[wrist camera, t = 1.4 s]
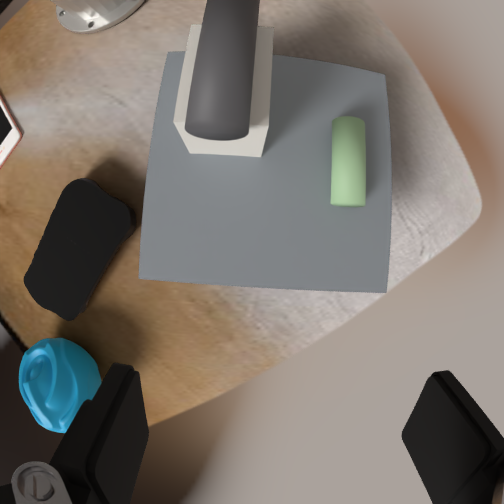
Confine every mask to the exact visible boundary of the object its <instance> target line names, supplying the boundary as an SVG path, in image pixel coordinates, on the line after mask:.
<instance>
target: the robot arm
mask: <svg viewBox="0 0 504 504" xmlns="http://www.w3.org/2000/svg"><path fill="white" fill-rule="evenodd" d="M50 1H52V2H53V3H55V4H56V14H57V18H58V20H59V22H60V24H61V25H62V26H64V27H65V28H66V29H68V30H70V31H71V32H75V33H79V34H89V33H95V32H99V31H102V30H105V29H107V28H110V27H112V26H114V25H116V24H118V23H119V22H121V21H123V20H124V19H126V18H127V17H128V16H129V15H131V14H132V13H133V12H134V11H135V10H136V9H137V8H138V7H140V6H141V4H142V3H143V2H144V1H145V0H50ZM148 436H149V430H148V424H147V419H146V413H145V407H144V401H143V395H142V388H141V381H140V375H139V372H138V371H134V368H133V366H131V365H125V364H119V363H113V364H112V366H111V367H110V369H109V371H108V373H107V374H106V376H105V378H104V380H103V381H102V383H101V385H100V387H99V388H98V390H97V392H96V394H95V395H94V397H93V399H92V400H90V399H86V400H85V401H84V402H83V403H82V405H81V406H80V408H79V410H78V412H77V413H76V415H75V417H74V419H73V420H72V422H71V424H70V426H69V428H68V429H67V431H66V433H65V435H64V437H63V439H62V440H61V442H60V444H59V446H58V448H57V450H56V452H55V453H54V456H53V457H52V459H51V461H50V463H49V465H48V464H46V463H42V462H29V463H26V464H23V465H22V466H20V467H19V468H17V470H16V471H15V473H14V474H13V478H12V483H11V484H7V485H3V486H0V504H130V501H131V497H132V493H133V490H134V486H135V483H136V479H137V476H138V472H139V469H140V465H141V462H142V458H143V455H144V451H145V448H146V445H147V441H148ZM402 440H403V442H404V444H405V446H406V448H407V450H408V452H409V454H410V456H411V458H412V460H413V463H414V465H415V466H416V469H417V471H418V473H419V475H420V477H421V479H422V481H423V484H424V486H425V488H426V490H427V492H428V494H429V496H430V499H431V501H432V503H433V504H504V438H503V437H502V435H501V434H500V432H499V431H498V430H497V429H496V427H495V426H494V425H493V423H492V422H491V421H490V420H489V418H488V417H487V416H486V414H485V413H484V412H483V411H482V409H481V408H480V407H479V406H478V404H477V403H476V402H475V401H474V399H473V398H472V397H471V396H470V394H469V393H468V392H467V391H466V389H465V388H464V387H463V386H462V385H461V383H460V382H459V381H458V380H457V379H456V377H455V376H454V375H453V374H452V373H451V372H450V371H448V370H446V371H439V372H434V373H433V374H432V375H431V376H430V377H429V378H428V379H427V381H426V383H425V386H424V388H423V390H422V392H421V395H420V397H419V399H418V401H417V403H416V406H415V407H414V409H413V411H412V414H411V415H410V417H409V419H408V421H407V423H406V425H405V427H404V429H403V431H402Z"/></svg>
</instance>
